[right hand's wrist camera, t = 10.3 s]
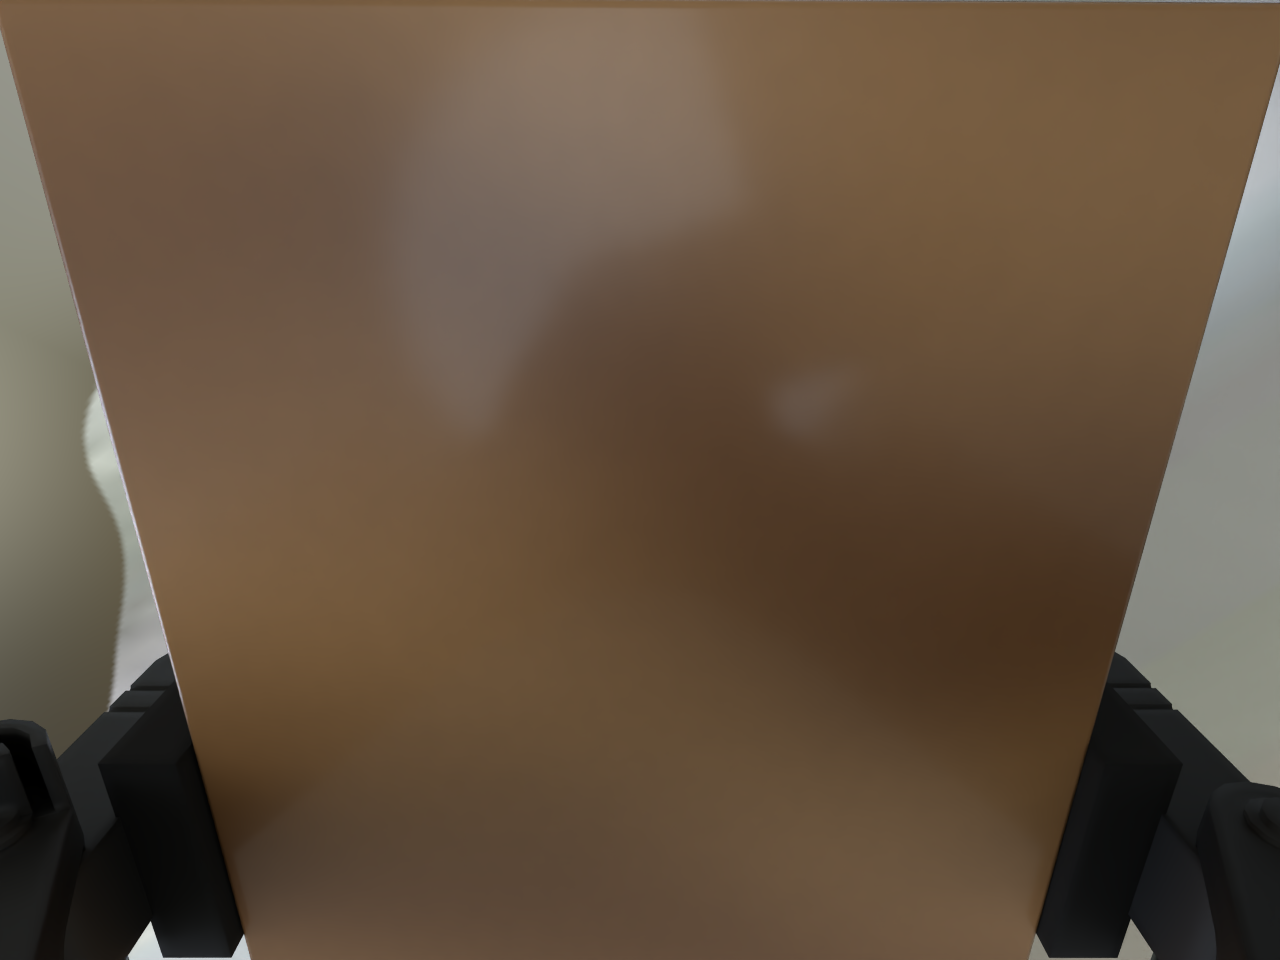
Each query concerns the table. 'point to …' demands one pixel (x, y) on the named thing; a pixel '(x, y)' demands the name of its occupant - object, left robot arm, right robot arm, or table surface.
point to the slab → (641, 440)
